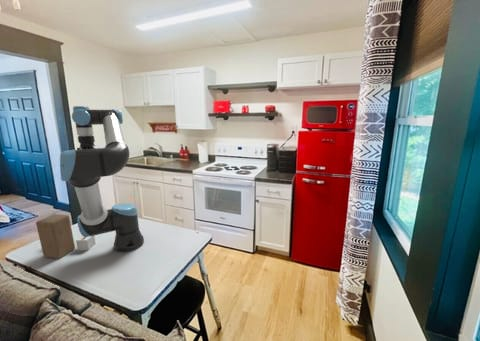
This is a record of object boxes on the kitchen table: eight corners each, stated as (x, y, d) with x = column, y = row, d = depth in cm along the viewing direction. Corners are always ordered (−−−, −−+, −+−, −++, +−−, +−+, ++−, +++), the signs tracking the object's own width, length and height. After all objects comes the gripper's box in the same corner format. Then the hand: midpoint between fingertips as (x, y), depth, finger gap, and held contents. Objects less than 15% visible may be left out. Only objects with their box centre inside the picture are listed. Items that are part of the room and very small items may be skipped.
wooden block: (58, 259, 116) (50, 223, 111) (42, 257, 118) (34, 221, 113) (76, 248, 125) (69, 214, 121) (61, 246, 127) (54, 213, 123)
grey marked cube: (95, 244, 130) (94, 234, 128) (89, 250, 124) (87, 239, 123) (85, 244, 130) (83, 234, 128) (77, 250, 124) (75, 240, 123)
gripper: (101, 134, 129) (107, 175, 134) (82, 134, 131) (88, 174, 137) (89, 136, 121) (96, 179, 127) (69, 135, 124) (77, 178, 130)
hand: (92, 176), depth 132 cm, fingers closed
